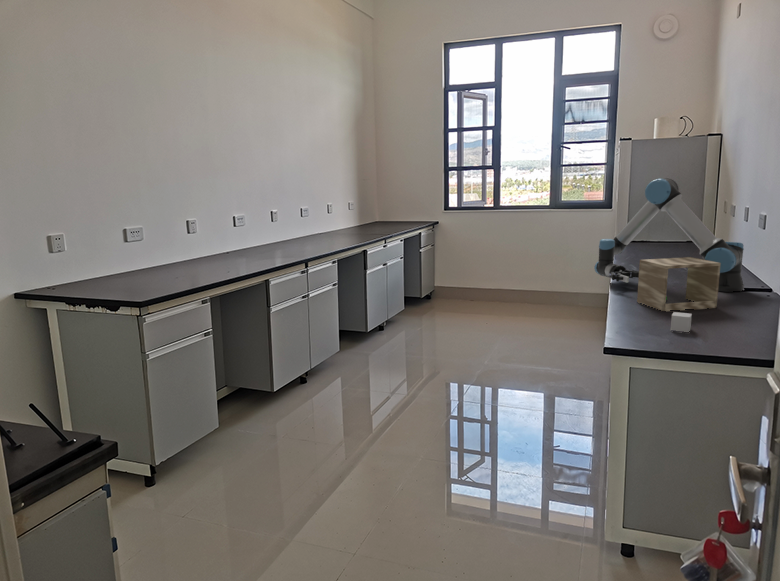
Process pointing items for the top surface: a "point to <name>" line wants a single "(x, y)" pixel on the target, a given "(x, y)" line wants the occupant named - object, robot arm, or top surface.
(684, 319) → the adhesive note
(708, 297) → the cubby box
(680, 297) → the top surface
